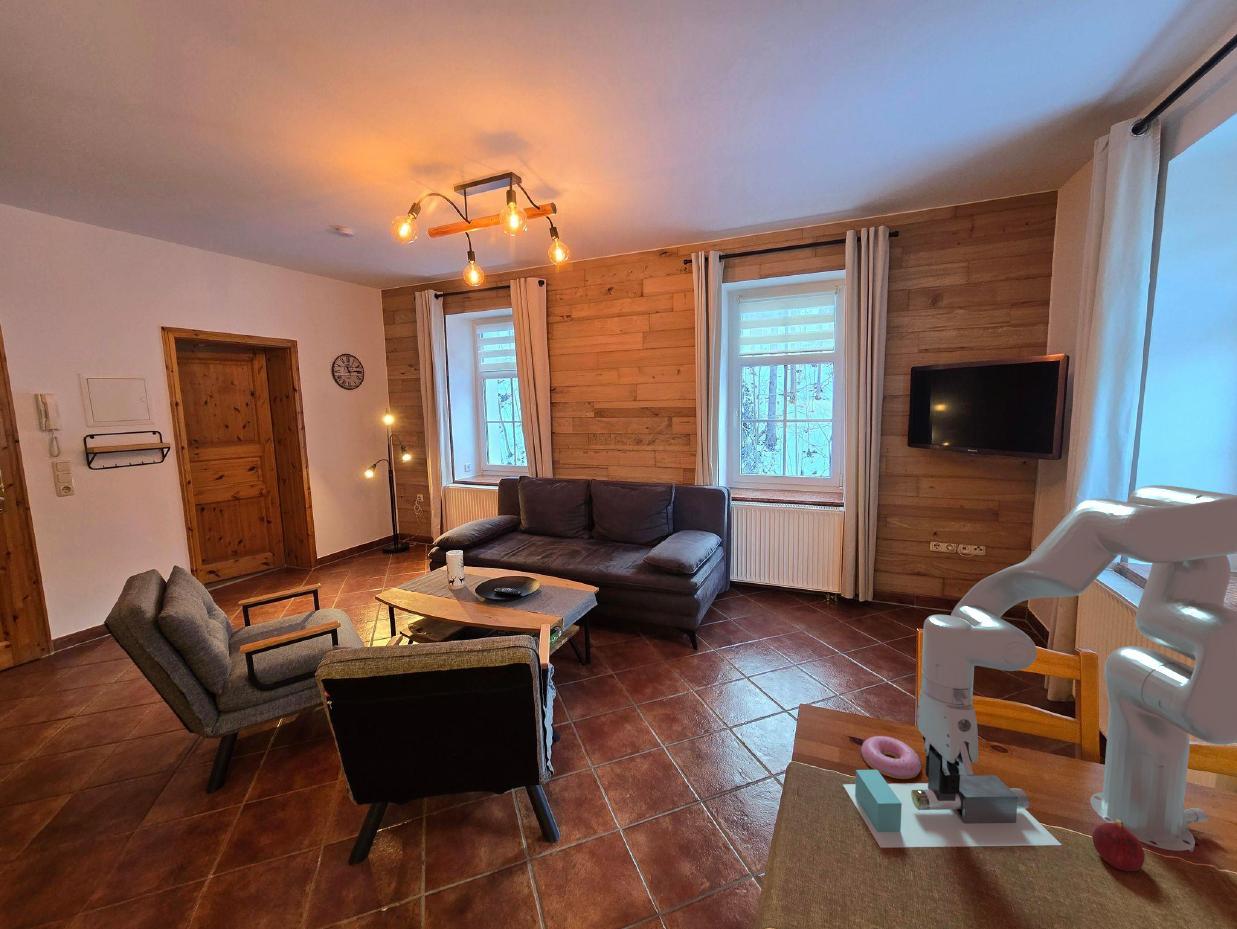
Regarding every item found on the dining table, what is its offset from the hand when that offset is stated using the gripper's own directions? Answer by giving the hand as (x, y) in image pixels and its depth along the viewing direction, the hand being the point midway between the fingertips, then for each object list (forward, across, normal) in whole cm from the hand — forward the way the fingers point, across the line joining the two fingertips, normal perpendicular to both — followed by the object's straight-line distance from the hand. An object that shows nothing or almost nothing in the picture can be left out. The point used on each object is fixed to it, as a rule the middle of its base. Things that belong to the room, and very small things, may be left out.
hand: (941, 783), depth 88 cm
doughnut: (+7, +14, +2) cm, 15 cm away
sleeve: (+6, 0, -7) cm, 9 cm away
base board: (+7, 0, 0) cm, 7 cm away
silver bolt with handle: (+5, 0, -5) cm, 7 cm away
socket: (+6, 0, +12) cm, 13 cm away
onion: (+7, -10, -22) cm, 25 cm away
